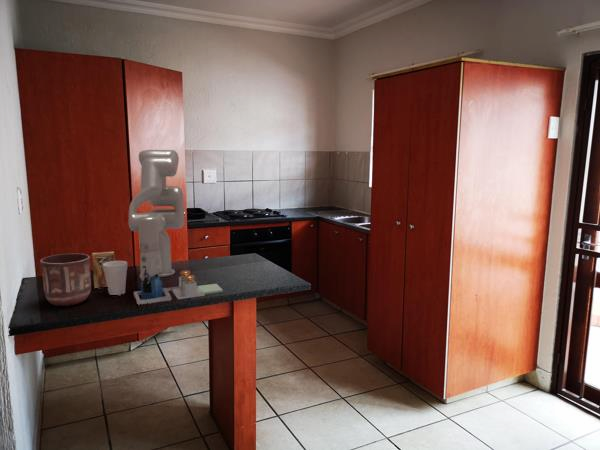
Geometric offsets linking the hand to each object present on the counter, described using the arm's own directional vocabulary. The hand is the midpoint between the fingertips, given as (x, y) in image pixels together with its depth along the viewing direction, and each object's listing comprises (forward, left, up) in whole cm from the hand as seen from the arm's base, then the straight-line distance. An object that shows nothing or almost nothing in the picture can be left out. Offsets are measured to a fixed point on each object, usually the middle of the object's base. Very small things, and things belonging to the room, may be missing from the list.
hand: (151, 289), depth 188 cm
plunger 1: (+6, +14, -2) cm, 15 cm away
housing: (+4, +6, -4) cm, 8 cm away
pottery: (-27, -17, -4) cm, 32 cm away
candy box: (-30, +4, -4) cm, 30 cm away
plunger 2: (+12, +9, -2) cm, 15 cm away
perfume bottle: (0, 0, -4) cm, 4 cm away
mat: (+14, +19, -4) cm, 24 cm away
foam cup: (-18, -1, -4) cm, 18 cm away
